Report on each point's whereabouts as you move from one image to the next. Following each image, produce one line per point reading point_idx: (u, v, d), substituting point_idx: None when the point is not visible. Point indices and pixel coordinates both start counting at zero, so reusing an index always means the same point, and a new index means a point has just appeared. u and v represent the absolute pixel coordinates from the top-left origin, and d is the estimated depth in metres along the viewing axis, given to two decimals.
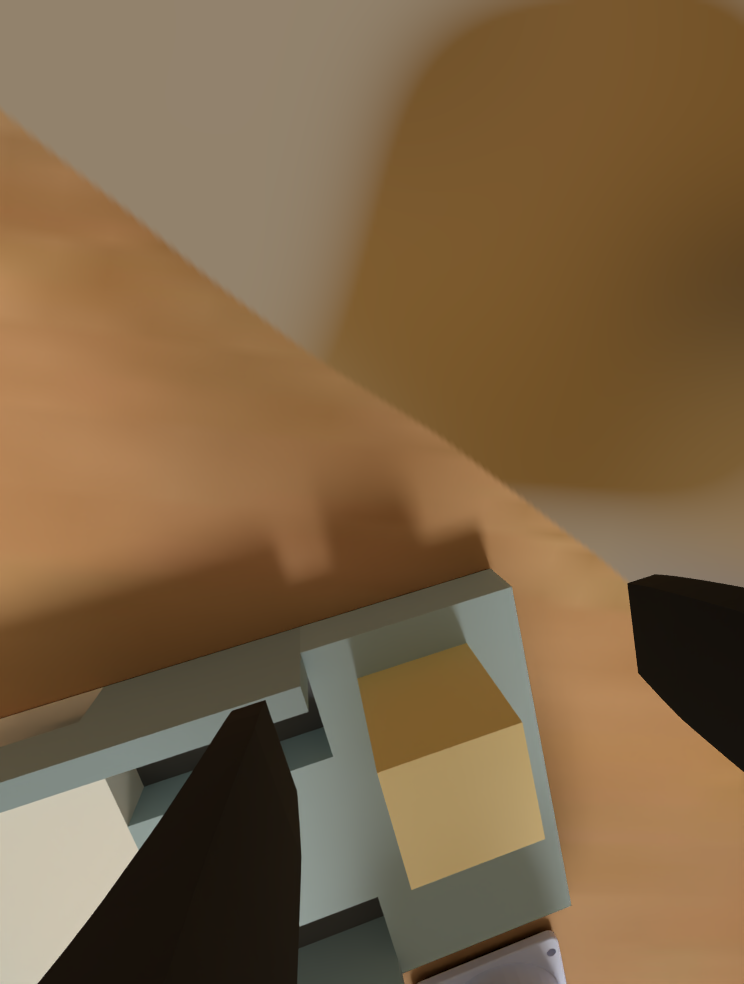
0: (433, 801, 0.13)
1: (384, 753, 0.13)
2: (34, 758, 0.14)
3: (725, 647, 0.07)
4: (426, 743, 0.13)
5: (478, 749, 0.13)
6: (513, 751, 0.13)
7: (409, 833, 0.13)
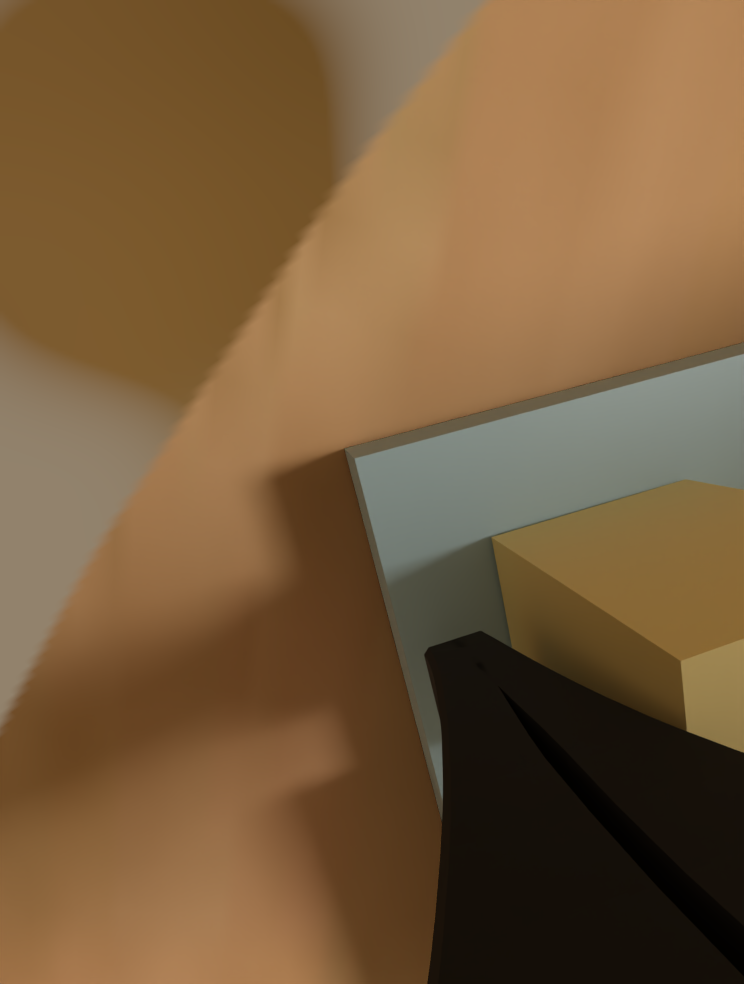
0: None
1: None
2: None
3: None
4: None
5: None
6: None
7: None
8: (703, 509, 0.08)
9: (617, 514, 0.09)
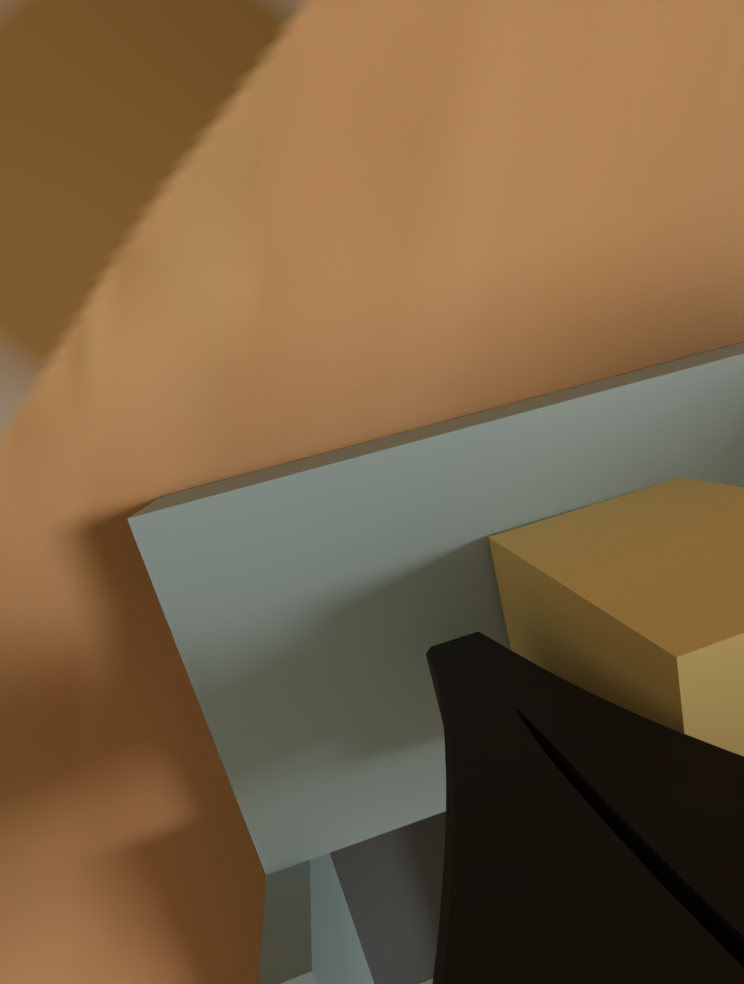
0: None
1: None
2: None
3: None
4: None
5: None
6: None
7: None
8: (698, 506, 0.08)
9: (613, 512, 0.09)
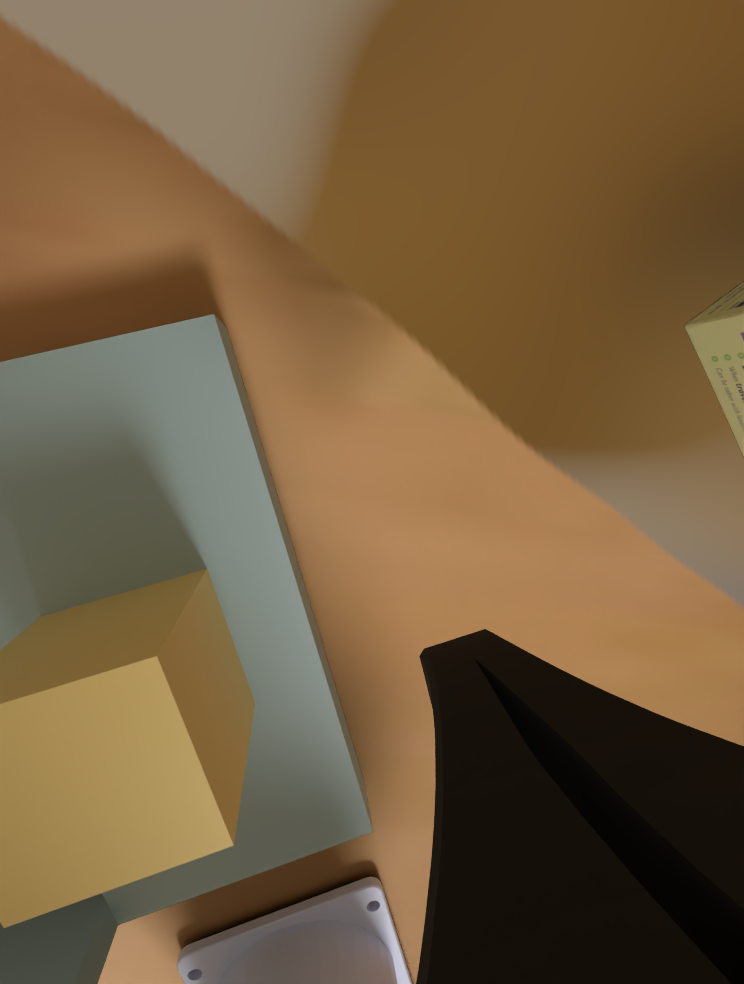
0: (14, 785, 0.08)
1: None
2: None
3: None
4: (6, 692, 0.08)
5: (82, 700, 0.08)
6: (148, 704, 0.08)
7: None
8: (236, 704, 0.12)
9: (228, 652, 0.12)
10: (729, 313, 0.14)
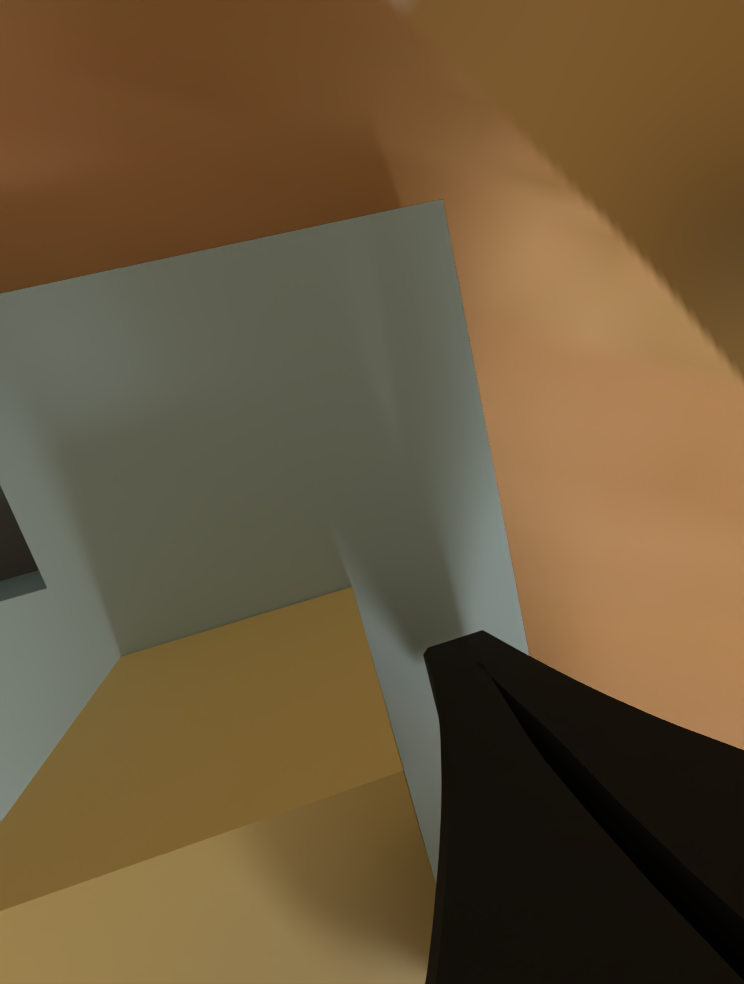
0: None
1: None
2: None
3: None
4: (121, 832, 0.04)
5: (268, 854, 0.04)
6: (380, 855, 0.04)
7: None
8: None
9: (386, 707, 0.09)
10: None
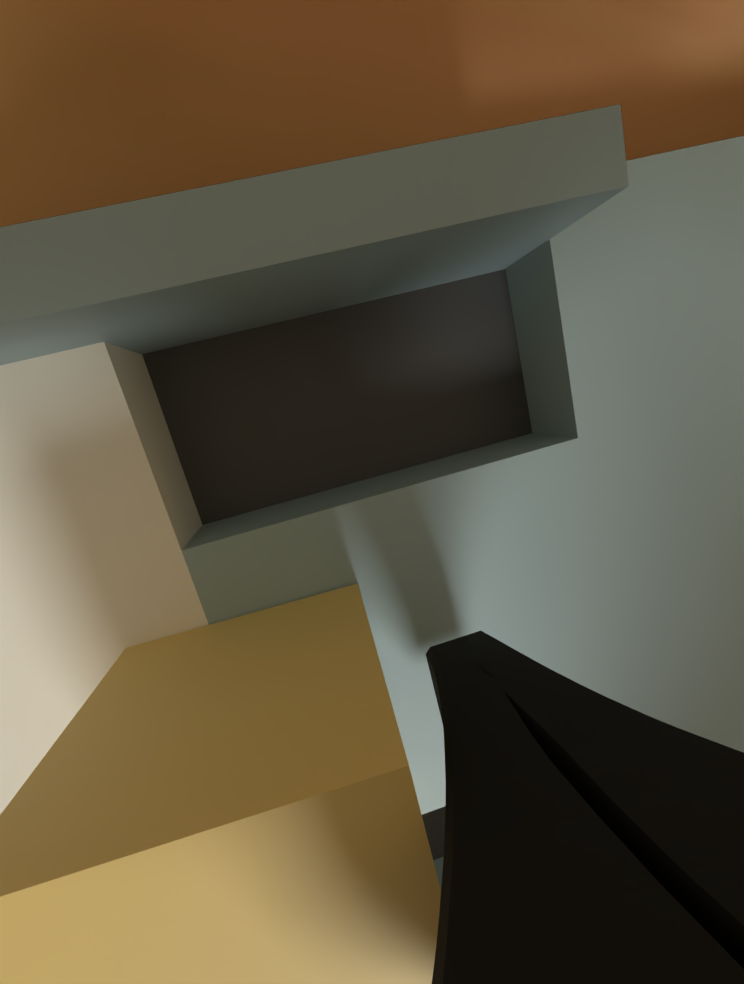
0: None
1: (4, 845, 0.04)
2: None
3: None
4: (125, 821, 0.04)
5: (272, 846, 0.04)
6: (384, 850, 0.04)
7: None
8: None
9: None
10: None
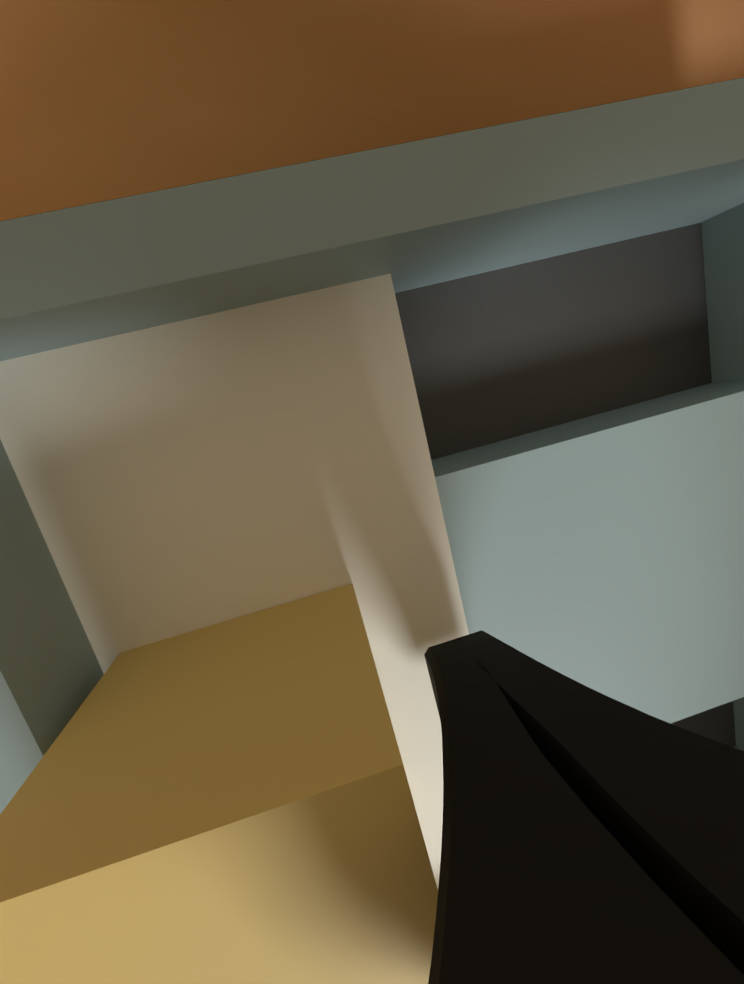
0: None
1: None
2: None
3: None
4: (120, 825, 0.04)
5: (268, 848, 0.04)
6: (380, 849, 0.04)
7: None
8: None
9: None
10: None
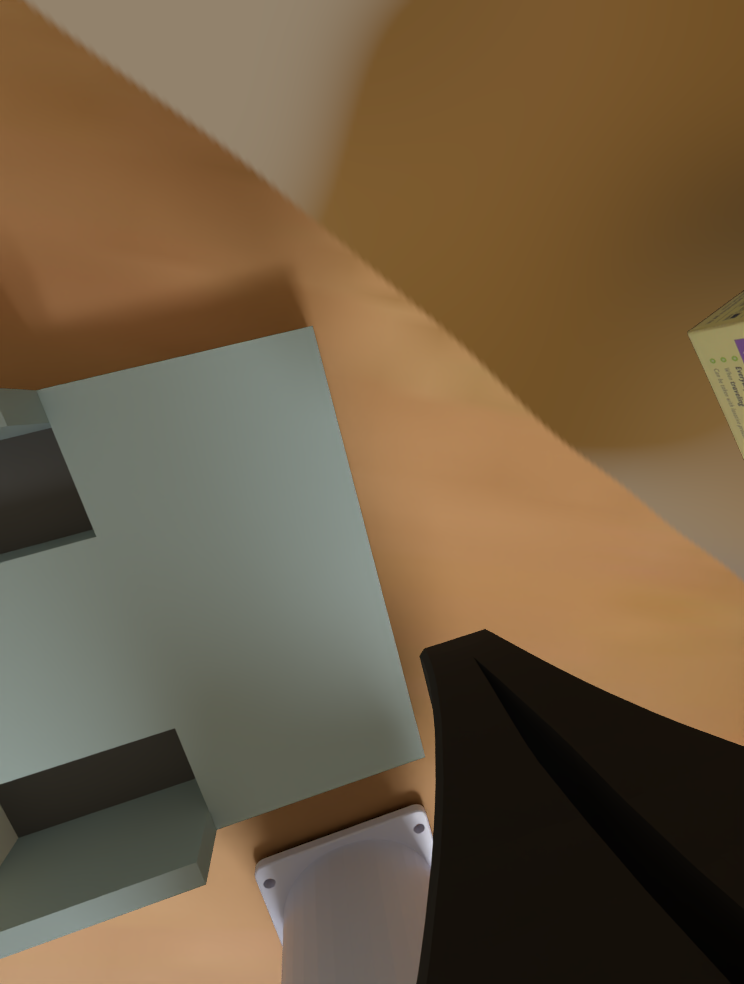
0: None
1: None
2: None
3: None
4: None
5: None
6: None
7: None
8: None
9: None
10: (724, 324, 0.17)
